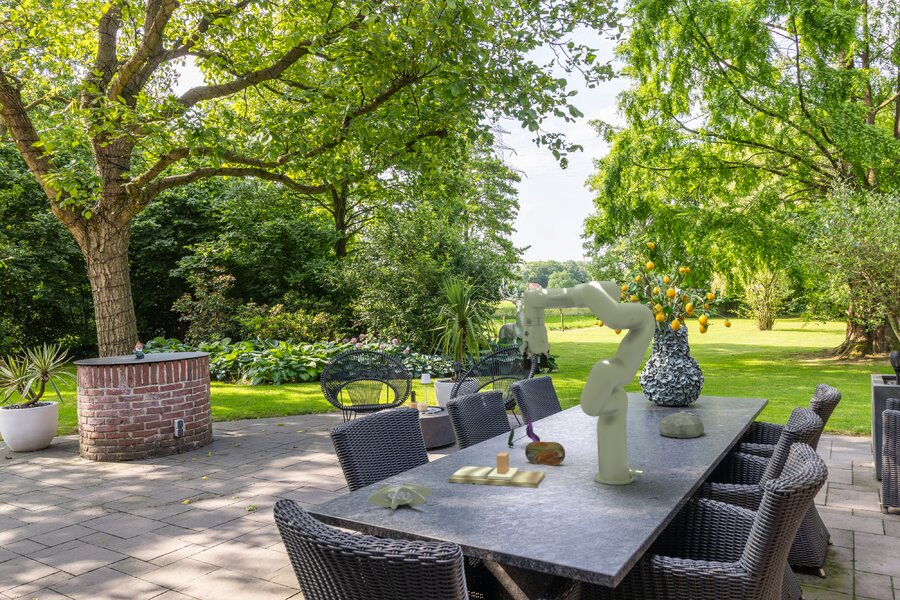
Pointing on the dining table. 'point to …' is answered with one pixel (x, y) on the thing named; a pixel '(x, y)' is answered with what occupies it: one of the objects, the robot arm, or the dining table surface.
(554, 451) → the tin
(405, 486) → the sculpture
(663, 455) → the dining table surface
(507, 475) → the stub
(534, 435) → the flower
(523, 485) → the ticket pad
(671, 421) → the decorative stone
